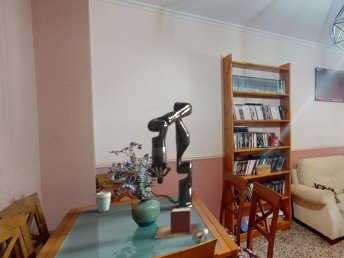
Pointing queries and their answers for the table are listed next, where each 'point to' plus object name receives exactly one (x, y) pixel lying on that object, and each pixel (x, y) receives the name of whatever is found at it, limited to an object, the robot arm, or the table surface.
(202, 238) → the eagle figurine
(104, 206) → the coffee cup
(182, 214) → the book
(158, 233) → the mat
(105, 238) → the table surface
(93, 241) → the table surface
